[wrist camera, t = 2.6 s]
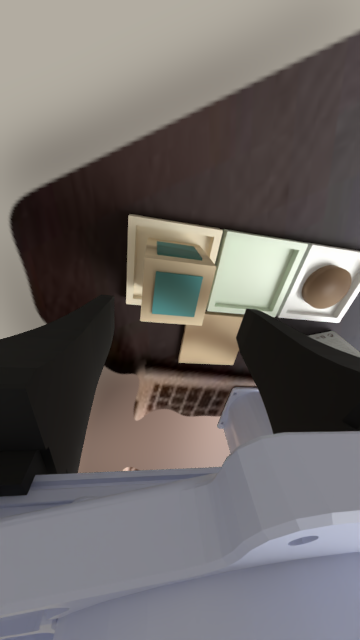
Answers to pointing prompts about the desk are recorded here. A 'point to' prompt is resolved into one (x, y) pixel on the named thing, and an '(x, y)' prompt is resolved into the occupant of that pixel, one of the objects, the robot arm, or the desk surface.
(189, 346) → the cork pad
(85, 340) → the robot arm
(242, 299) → the tray sage
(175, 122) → the desk surface
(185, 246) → the beige block teal panels
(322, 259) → the tray white
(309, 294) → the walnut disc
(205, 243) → the tray sand
